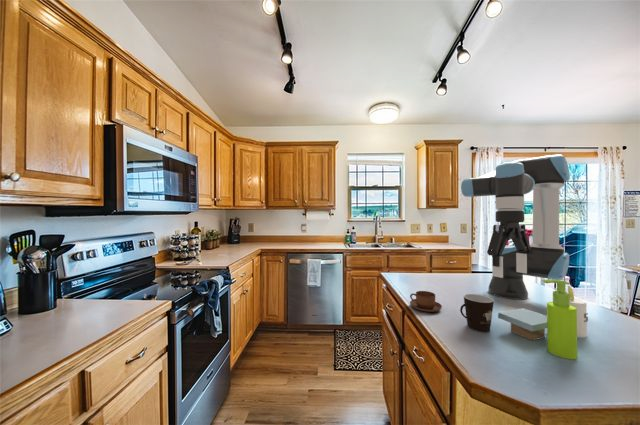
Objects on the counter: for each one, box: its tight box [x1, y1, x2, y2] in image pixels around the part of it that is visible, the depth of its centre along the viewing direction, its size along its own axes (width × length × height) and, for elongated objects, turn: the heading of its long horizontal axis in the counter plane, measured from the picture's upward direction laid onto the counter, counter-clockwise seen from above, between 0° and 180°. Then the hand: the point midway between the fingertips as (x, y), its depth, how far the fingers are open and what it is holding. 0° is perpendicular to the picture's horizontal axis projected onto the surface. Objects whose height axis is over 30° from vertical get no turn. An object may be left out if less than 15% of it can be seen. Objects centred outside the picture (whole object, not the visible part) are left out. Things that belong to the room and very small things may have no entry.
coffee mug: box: [459, 293, 495, 333], centre depth 83 cm, size 12×9×10 cm
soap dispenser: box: [541, 278, 578, 360], centre depth 68 cm, size 6×7×20 cm
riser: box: [510, 323, 546, 341], centre depth 78 cm, size 6×6×4 cm
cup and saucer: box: [409, 290, 443, 313], centre depth 100 cm, size 12×12×6 cm
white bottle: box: [567, 285, 589, 338], centre depth 79 cm, size 6×6×15 cm
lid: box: [497, 307, 547, 331], centre depth 78 cm, size 12×10×2 cm
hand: (510, 274), depth 81 cm, fingers open, 13 cm apart
